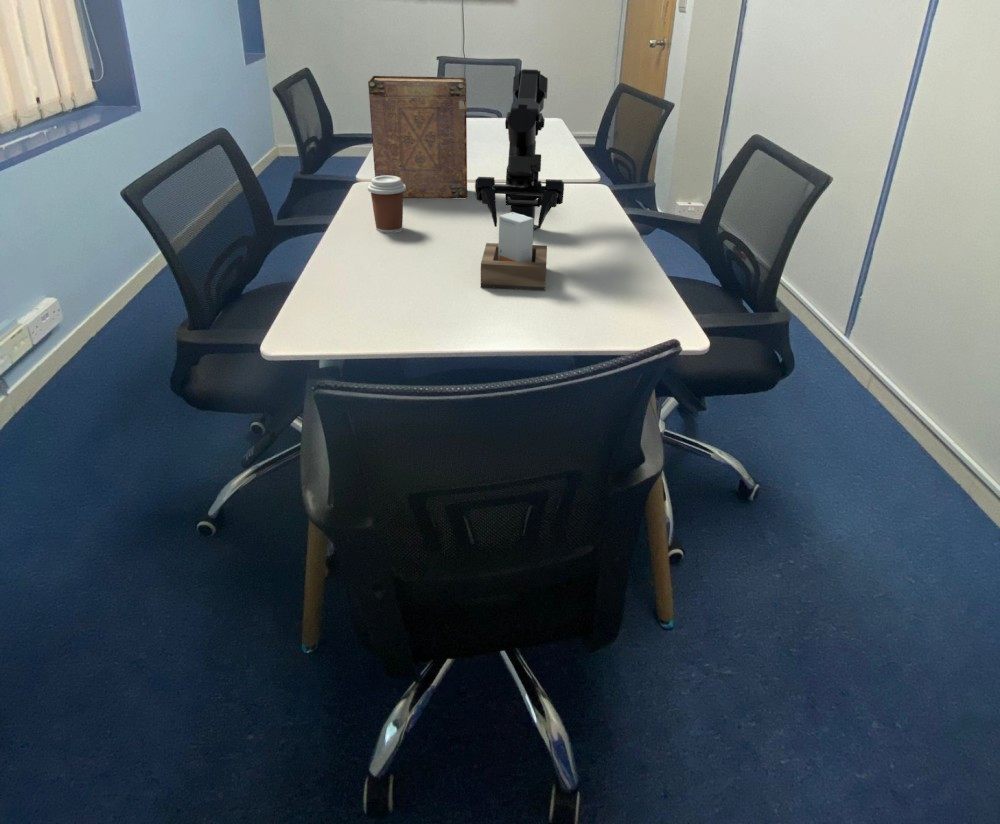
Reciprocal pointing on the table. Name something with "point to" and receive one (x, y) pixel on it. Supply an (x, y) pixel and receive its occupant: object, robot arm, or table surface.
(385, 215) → the coffee cup
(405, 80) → the book
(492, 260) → the socket block
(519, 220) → the skincare box
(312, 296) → the table surface
